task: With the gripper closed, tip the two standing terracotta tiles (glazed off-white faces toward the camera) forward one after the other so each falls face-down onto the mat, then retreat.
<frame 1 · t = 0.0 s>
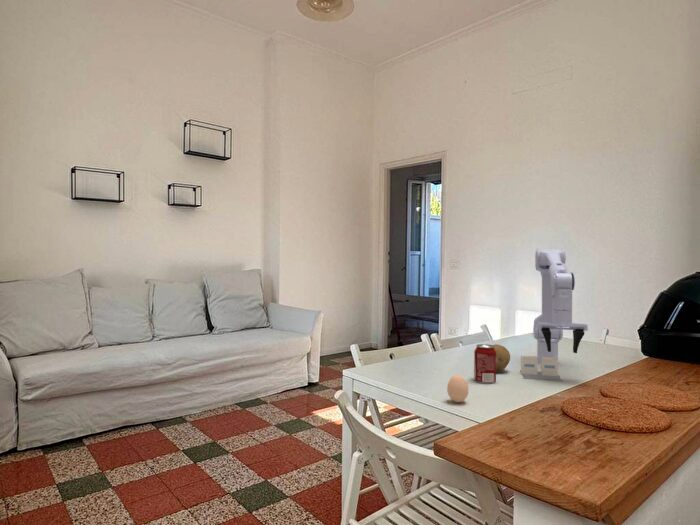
hand: (561, 352, 147), 10 cm above the table, fingers open, 7 cm apart
tile b: (549, 375, 156), resting on mat
mat: (540, 377, 155), on the table
soda can: (484, 383, 148), on the table
egg: (457, 402, 127), on the table
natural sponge: (496, 373, 161), on the table
tile a: (528, 373, 157), resting on mat
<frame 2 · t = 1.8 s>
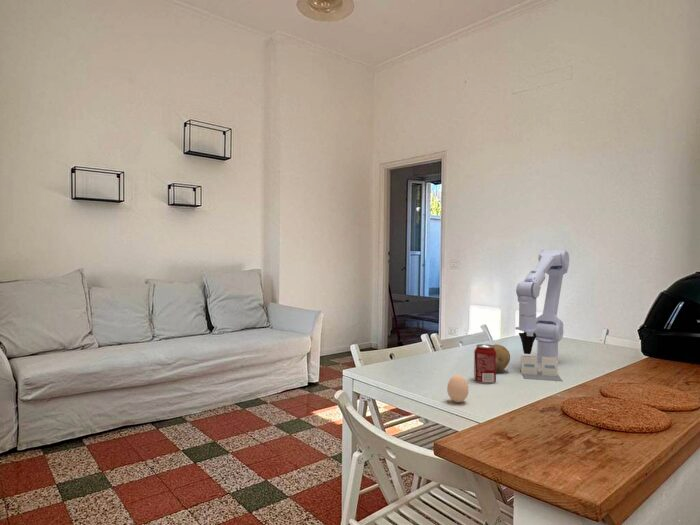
hand: (527, 353, 162), 6 cm above the table, fingers closed
nothing on the table moved.
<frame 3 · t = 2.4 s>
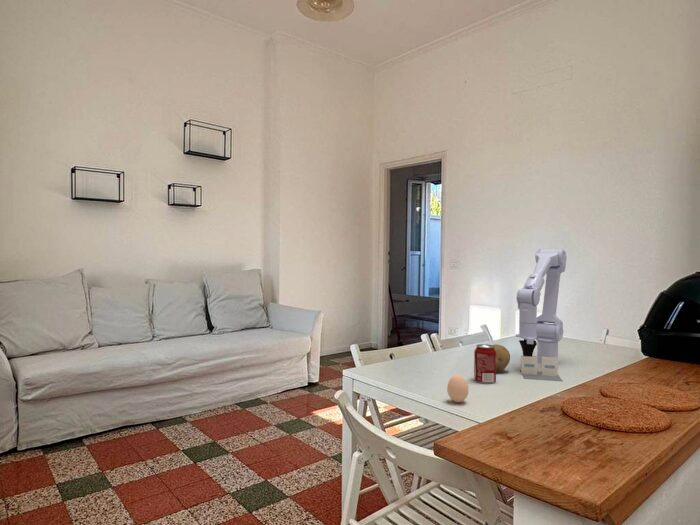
hand: (527, 361, 161), 4 cm above the table, fingers closed
nothing on the table moved.
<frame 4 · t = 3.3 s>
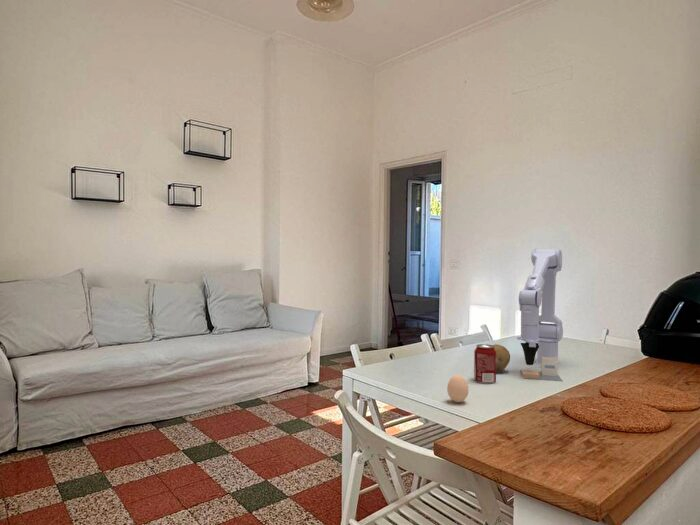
hand: (529, 364, 156), 4 cm above the table, fingers closed
tile a: (529, 372, 157), point 1 cm above the table, tilted 90°, touching mat
everything else where it was.
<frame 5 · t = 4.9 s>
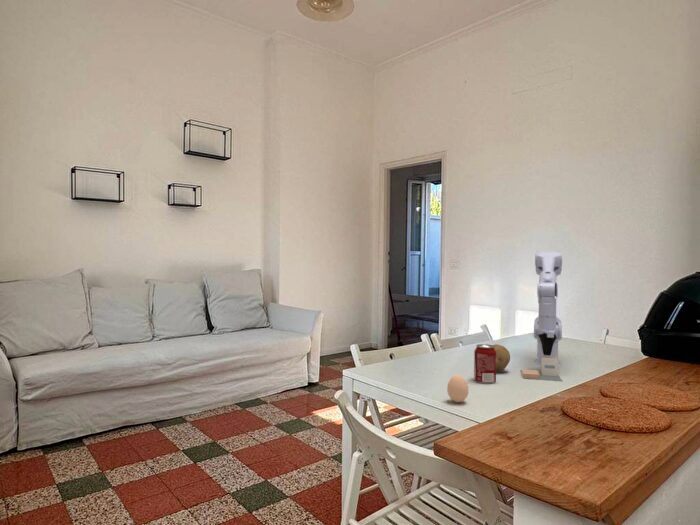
hand: (547, 355, 160), 6 cm above the table, fingers closed
nothing on the table moved.
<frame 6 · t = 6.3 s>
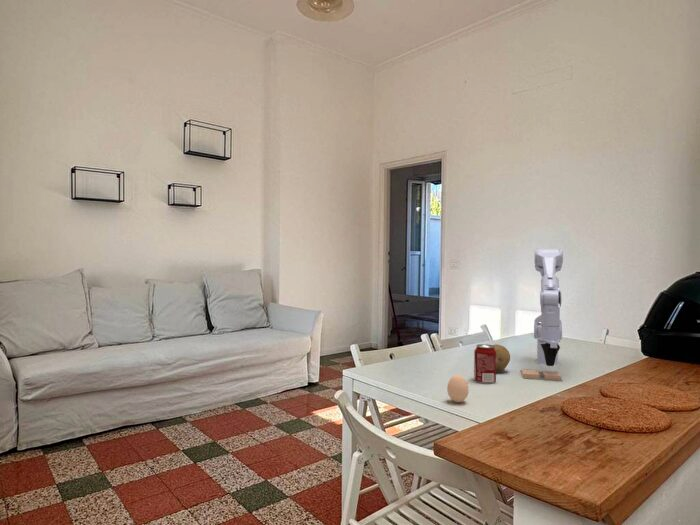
hand: (550, 365, 154), 4 cm above the table, fingers closed
tile b: (549, 373, 155), point 1 cm above the table, tilted 90°, touching mat
everything else where it was.
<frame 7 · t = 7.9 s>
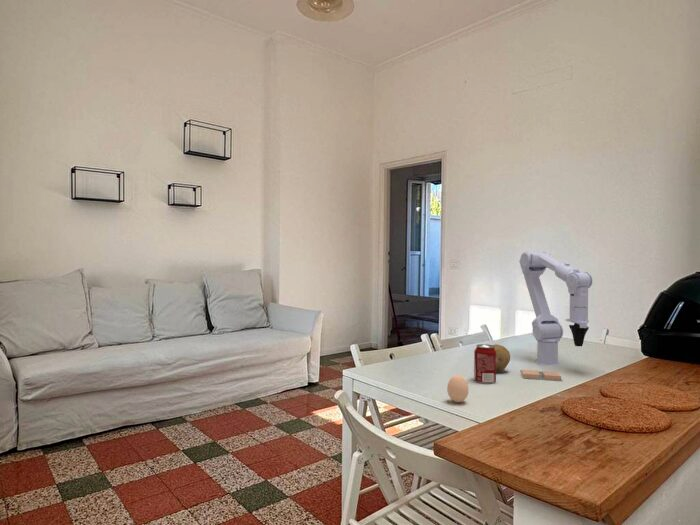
hand: (578, 345, 159), 10 cm above the table, fingers closed
nothing on the table moved.
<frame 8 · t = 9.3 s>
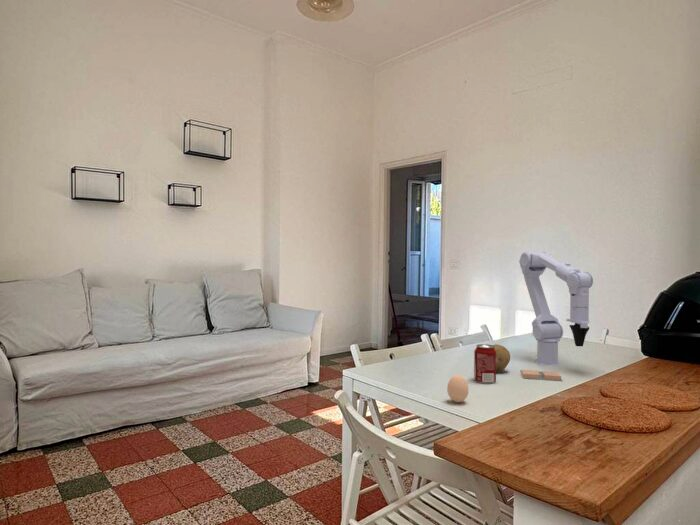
hand: (579, 346, 159), 10 cm above the table, fingers closed
nothing on the table moved.
at the end: tile a tilted 90°; tile b tilted 90°; tile a inside the target area on the mat (3.7 cm from its centre), point 1.3 cm above the mat's base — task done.
